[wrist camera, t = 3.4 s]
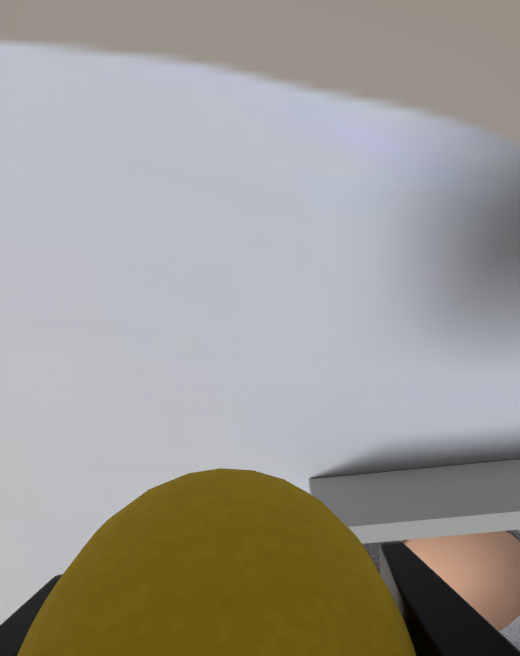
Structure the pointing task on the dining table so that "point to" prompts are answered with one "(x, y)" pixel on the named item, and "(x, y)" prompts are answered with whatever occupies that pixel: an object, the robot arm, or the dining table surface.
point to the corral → (443, 524)
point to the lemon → (221, 579)
